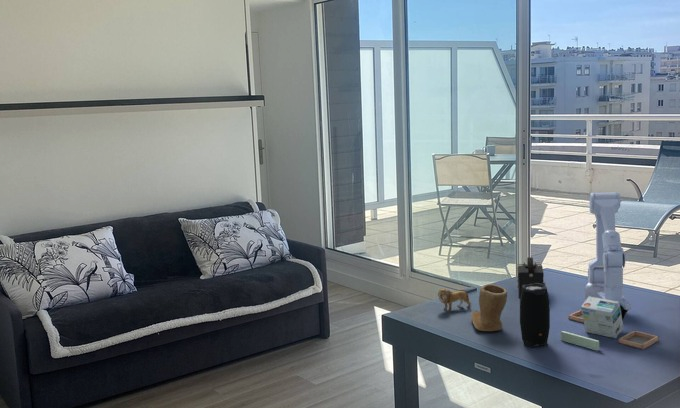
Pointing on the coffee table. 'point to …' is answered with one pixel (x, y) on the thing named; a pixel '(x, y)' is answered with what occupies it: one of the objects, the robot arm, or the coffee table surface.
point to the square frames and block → (630, 339)
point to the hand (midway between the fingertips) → (613, 324)
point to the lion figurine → (453, 298)
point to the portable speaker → (534, 314)
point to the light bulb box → (602, 317)
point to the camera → (529, 274)
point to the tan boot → (490, 308)
